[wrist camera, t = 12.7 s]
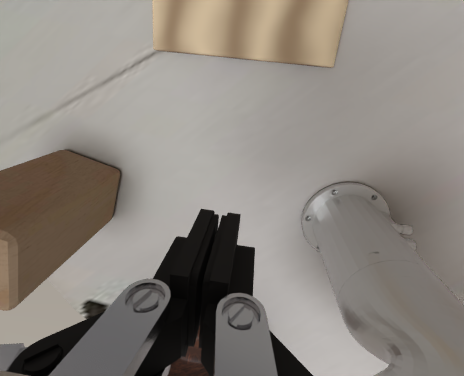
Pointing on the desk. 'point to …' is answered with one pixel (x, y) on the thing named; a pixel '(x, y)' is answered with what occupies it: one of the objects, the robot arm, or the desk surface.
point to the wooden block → (49, 217)
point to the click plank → (251, 29)
